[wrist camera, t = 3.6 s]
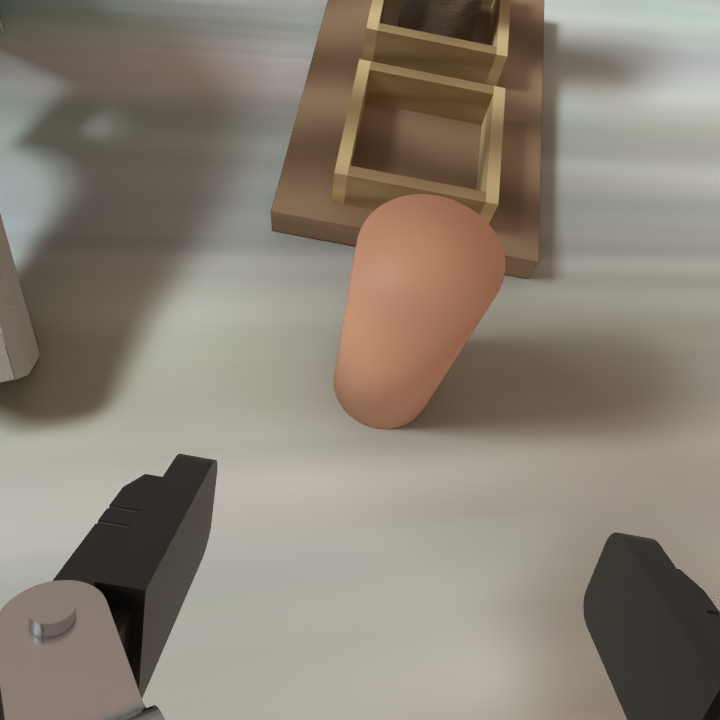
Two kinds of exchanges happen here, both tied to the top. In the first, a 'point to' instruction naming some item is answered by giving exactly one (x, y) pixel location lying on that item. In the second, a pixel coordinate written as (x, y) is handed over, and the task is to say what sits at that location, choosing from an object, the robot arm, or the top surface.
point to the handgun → (13, 318)
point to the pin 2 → (412, 304)
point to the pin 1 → (441, 17)
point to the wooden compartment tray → (419, 124)
